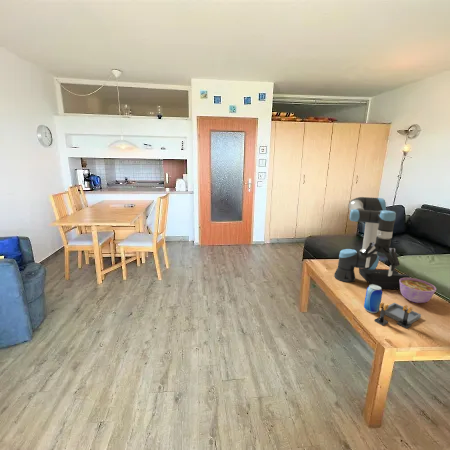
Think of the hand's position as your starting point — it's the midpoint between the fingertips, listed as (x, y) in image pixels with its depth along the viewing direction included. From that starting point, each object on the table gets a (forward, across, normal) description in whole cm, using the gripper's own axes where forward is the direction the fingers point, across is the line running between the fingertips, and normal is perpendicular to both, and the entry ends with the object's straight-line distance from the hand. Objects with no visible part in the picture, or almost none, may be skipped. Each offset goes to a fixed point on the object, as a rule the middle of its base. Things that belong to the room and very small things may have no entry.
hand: (378, 271), depth 153 cm
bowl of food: (+26, +7, +38) cm, 47 cm away
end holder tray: (+26, +12, +10) cm, 31 cm away
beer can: (+26, 0, 0) cm, 27 cm away
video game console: (+27, -18, +47) cm, 57 cm away
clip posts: (+26, +14, -2) cm, 30 cm away
